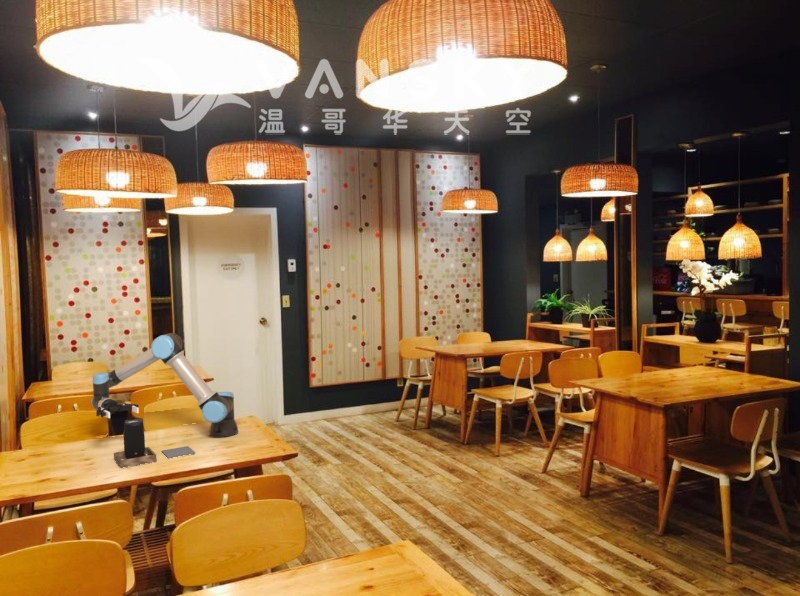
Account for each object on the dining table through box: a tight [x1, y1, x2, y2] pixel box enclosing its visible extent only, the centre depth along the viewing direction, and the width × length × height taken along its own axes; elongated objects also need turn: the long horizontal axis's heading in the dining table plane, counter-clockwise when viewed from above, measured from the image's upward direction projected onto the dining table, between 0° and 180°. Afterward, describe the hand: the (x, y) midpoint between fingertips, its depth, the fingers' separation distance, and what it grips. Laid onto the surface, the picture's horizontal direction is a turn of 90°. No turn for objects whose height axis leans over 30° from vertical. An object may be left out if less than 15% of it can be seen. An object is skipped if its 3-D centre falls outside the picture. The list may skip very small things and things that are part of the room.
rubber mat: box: [161, 445, 196, 459], centre depth 316 cm, size 13×13×1 cm
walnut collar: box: [113, 446, 158, 469], centre depth 305 cm, size 16×16×4 cm
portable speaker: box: [123, 418, 146, 460], centre depth 304 cm, size 9×9×20 cm
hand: (123, 412), depth 312 cm, fingers open, 13 cm apart
